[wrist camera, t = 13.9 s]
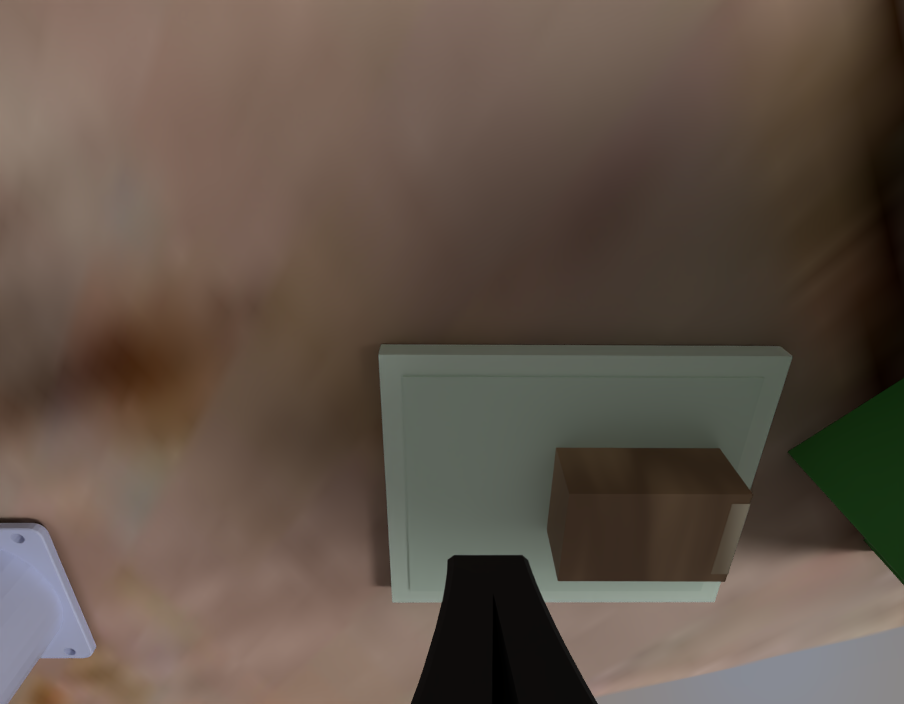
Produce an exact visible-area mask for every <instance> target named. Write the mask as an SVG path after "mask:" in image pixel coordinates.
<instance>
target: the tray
mask: <svg viewBox="0 0 904 704" xmlns="http://www.w3.org/2000/svg"><path fill="white" fill-rule="evenodd" d="M378 356H379V374H380V391H381V409H382V427H383V445H384V462H385V480H386V498H387V516H388V533H389V551H390V569H391V587H392V602H442V599H443V594H444V589H445V582H446V576H447V560H448V559H449V558H451V557H452V556H453V555H523V556H524V557H525V558H526V559H528V561H529V564H530V567H531V570H532V573H533V575H534V578H535V580H536V583H537V585H538V588H539V590H540V593H541V595H542V597H543V599H544V602H715V599H716V596H717V593H718V589H719V586H720V583H721V582H659V581H558V580H557V576H556V571H555V566H554V562H553V557H552V552H551V548H550V543H549V538H548V534H547V523H548V514H549V505H550V496H551V487H552V479H553V470H554V461H555V452H556V448H720V449H721V451H722V452H723V454H724V455H725V456H726V458H727V459H728V460H729V462H730V463H731V465H732V466H733V467H734V469H735V470H736V472H737V473H738V474H739V476H740V477H741V478H742V480H743V481H744V483H745V484H746V485H747V487H748V488H749V489H751V486H752V483H753V480H754V476H755V473H756V470H757V467H758V464H759V461H760V458H761V454H762V451H763V448H764V445H765V442H766V439H767V436H768V433H769V429H770V426H771V423H772V420H773V417H774V414H775V411H776V407H777V404H778V401H779V398H780V395H781V392H782V389H783V385H784V382H785V379H786V376H787V373H788V370H789V367H790V363H791V360H792V357H793V356H792V355H790V354H789V353H788V352H787V351H786V350H784V349H783V348H782V347H781V346H661V345H436V344H381V346H380V350H379V354H378Z"/></svg>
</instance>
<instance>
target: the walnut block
mask: <svg viewBox="0 0 904 704" xmlns="http://www.w3.org/2000/svg"><path fill="white" fill-rule="evenodd" d="M752 497H753V494H752V492H751V491H750V489H749V488H748V487H747V485H746V484H745V483H744V481H743V480H742V478H741V477H740V476H739V474H738V473H737V472H736V470H735V469H734V467H733V466H732V465H731V463H730V462H729V460H728V459H727V458H726V456H725V455H724V454H723V452H722V451H721V449H720V448H556V452H555V461H554V470H553V479H552V487H551V496H550V505H549V514H548V523H547V534H548V538H549V543H550V548H551V552H552V557H553V562H554V566H555V571H556V576H557V580H558V581H659V582H725V580H726V577H727V574H728V572H729V569H730V566H731V563H732V560H733V557H734V554H735V551H736V548H737V544H738V541H739V538H740V535H741V532H742V529H743V526H744V523H745V520H746V517H747V514H748V510H749V507H750V503H751V500H752Z"/></svg>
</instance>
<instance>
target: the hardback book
mask: <svg viewBox="0 0 904 704" xmlns="http://www.w3.org/2000/svg"><path fill="white" fill-rule="evenodd" d="M788 453H789V454H790V455H791V456H792V458H793V459H794V460H795V461H796V462H797V463H798V465H799V466H800V467H801V468H802V469H803V470H804V471H805V472H806V473H807V475H808V476H809V477H810V478H811V479H812V480H813V481H814V482H815V483H816V485H817V486H818V487H819V488H820V489H821V490H822V491H823V492H824V493H825V494H826V496H827V497H828V498H829V499H830V500H831V501H832V502H833V503H834V504H835V506H836V507H837V508H838V509H839V510H840V511H841V512H842V513H843V514H844V515H845V517H846V518H847V519H848V520H849V521H850V522H851V523H852V524H853V525H854V527H855V528H856V529H857V530H858V531H859V532H860V533H861V534H862V535H863V536H864V538H865V539H864V541H865V542H866V543H867V544H868V546H869V547H870V548H871V549H872V550H873V551H874V552H875V554H876V555H877V556H878V557H879V558H880V559H881V560H882V561H883V562H884V564H885V565H886V566H887V567H888V568H889V569H890V570H891V571H892V572H893V574H894V575H895V576H896V577H897V578H898V579H899V580H900V581H901V582H902V584H903V585H904V378H903V379H902V380H900V381H899V382H897V383H895V384H894V385H892V386H891V387H889V388H887V389H886V390H884V391H883V392H881V393H880V394H878V395H876V396H875V397H873V398H872V399H870V400H869V401H867V402H865V403H864V404H862V405H861V406H859V407H858V408H856V409H854V410H853V411H851V412H850V413H848V414H847V415H845V416H843V417H842V418H840V419H839V420H837V421H835V422H834V423H832V424H831V425H829V426H828V427H826V428H824V429H823V430H821V431H820V432H818V433H817V434H815V435H813V436H812V437H810V438H809V439H807V440H806V441H804V442H802V443H801V444H799V445H798V446H796V447H794V448H793V449H791V450H790V451H788Z"/></svg>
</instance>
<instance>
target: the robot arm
mask: <svg viewBox="0 0 904 704" xmlns="http://www.w3.org/2000/svg"><path fill="white" fill-rule="evenodd" d="M95 648H96V644H95V642H94V639H93V637H92V634H91V632H90V630H89V627H88V625H87V623H86V620H85V618H84V615H83V613H82V611H81V608H80V606H79V604H78V601H77V599H76V597H75V594H74V592H73V589H72V587H71V585H70V582H69V580H68V578H67V575H66V573H65V571H64V568H63V566H62V563H61V561H60V559H59V556H58V554H57V552H56V549H55V547H54V544H53V542H52V540H51V537H50V535H49V533H48V531H47V529H46V528H45V527H44V526H42V525H40V524H37V523H0V704H8V703H9V701H10V700H11V698H12V697H13V696H14V694H15V693H16V691H17V690H18V688H19V687H20V686H21V684H22V683H23V681H24V680H25V678H26V677H27V676H28V674H29V673H30V671H31V670H32V668H33V667H34V665H35V664H36V663H37V661H38V660H39V658H87V657H89V656H91V655H92V653H93V652H94V650H95ZM411 704H598V703H597V702H596V700H595V698H594V696H593V695H592V693H591V691H590V689H589V688H588V686H587V684H586V682H585V681H584V679H583V677H582V675H581V673H580V671H579V669H578V668H577V666H576V664H575V662H574V660H573V658H572V656H571V655H570V653H569V651H568V649H567V647H566V645H565V643H564V641H563V639H562V637H561V635H560V633H559V631H558V629H557V627H556V625H555V623H554V621H553V619H552V617H551V615H550V613H549V610H548V608H547V606H546V604H545V602H544V599H543V597H542V595H541V593H540V590H539V588H538V585H537V583H536V580H535V578H534V575H533V573H532V570H531V567H530V564H529V561H528V559H526V558H525V557H524V556H523V555H453V556H452V557H451V558H449V559H448V560H447V576H446V582H445V589H444V594H443V599H442V604H441V608H440V612H439V616H438V620H437V625H436V628H435V632H434V635H433V638H432V642H431V645H430V648H429V652H428V655H427V658H426V662H425V665H424V668H423V671H422V674H421V677H420V680H419V683H418V686H417V688H416V691H415V694H414V697H413V699H412V702H411Z"/></svg>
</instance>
